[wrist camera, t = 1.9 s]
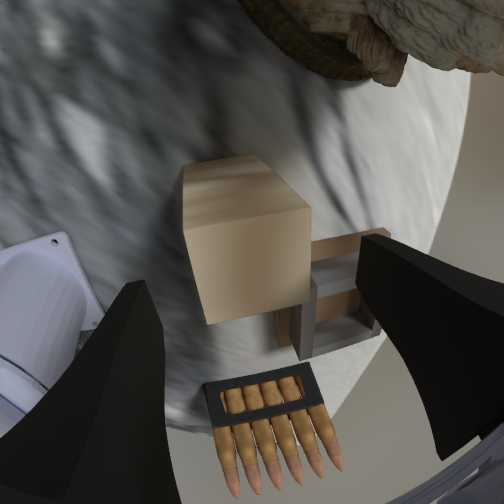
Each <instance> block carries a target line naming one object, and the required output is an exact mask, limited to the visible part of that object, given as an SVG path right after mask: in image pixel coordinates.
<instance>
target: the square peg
mask: <svg viewBox="0 0 504 504" xmlns="http://www.w3.org/2000/svg"><path fill="white" fill-rule="evenodd" d="M183 232H184V237H185V241H186V245H187V249H188V253H189V257H190V261H191V265H192V269H193V273H194V277H195V281H196V285H197V288H198V292H199V296H200V299H201V303H202V307H203V310H204V314H205V317H206V321H207V324H208V325H209V324H214V323H219V322H224V321H229V320H234V319H238V318H243V317H248V316H252V315H257V314H261V313H266V312H270V311H274V310H278V309H283V308H287V307H291V306H295V305H299V304H303V303H307V302H309V296H310V269H311V206H310V205H309V204H308V203H307V202H306V201H305V200H304V199H302V198H301V197H300V196H299V195H298V194H297V193H296V192H295V191H294V190H293V189H292V188H291V187H290V186H289V185H288V184H287V183H286V182H285V181H284V180H283V179H282V178H281V177H279V176H278V175H277V174H276V173H275V172H274V171H273V170H272V169H271V168H270V167H269V166H268V165H266V164H265V163H264V162H263V161H262V160H261V159H260V158H259V157H258V156H257V155H255V154H249V155H242V156H235V157H229V158H222V159H216V160H210V161H205V162H199V163H194V164H189V165H184V166H183Z"/></svg>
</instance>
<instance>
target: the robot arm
mask: <svg viewBox="0 0 504 504" xmlns="http://www.w3.org/2000/svg"><path fill="white" fill-rule="evenodd" d="M53 239H55V240H57V241H58V243H55V242H54V240H53ZM355 284H356V286H357V288H358V290H359V292H360V294H361V296H362V298H363V300H364V302H365V304H366V305H367V307H368V308H369V310H370V311H371V313H372V314H373V316H374V317H375V319H376V320H377V321H378V323H379V324H380V326H381V327H382V329H383V330H384V331H385V333H386V334H387V336H388V337H389V338H390V340H391V341H392V343H393V344H394V346H395V347H396V349H397V350H398V352H399V353H400V355H401V357H402V358H403V360H404V362H405V364H406V366H407V368H408V370H409V372H410V374H411V376H412V378H413V380H414V383H415V385H416V387H417V389H418V392H419V394H420V397H421V399H422V402H423V405H424V407H425V410H426V413H427V416H428V419H429V422H430V426H431V429H432V433H433V437H434V441H435V446H436V451H437V454H438V456H439V457H440V459H441V461H443V460H445V459H446V458H448V457H449V456H451V455H452V454H453V453H455V452H456V451H458V450H459V449H460V448H462V447H463V446H464V445H466V444H467V443H468V442H470V441H471V440H472V439H473V438H475V437H476V436H477V435H479V437H480V439H481V441H480V442H479V443H478V444H477V445H476V446H474V447H473V448H472V449H471V450H469V451H468V452H467V453H466V454H464V455H463V456H462V457H460V458H459V459H458V460H457V461H455V462H454V463H452V464H451V465H449V466H448V467H447V468H445V469H444V470H442V471H441V472H439V473H438V474H436V475H435V476H433V477H432V478H430V479H429V480H427V481H426V482H424V483H422V484H421V485H419V486H417V487H415V488H414V489H412V490H410V491H409V492H407V493H405V494H403V495H401V496H399V497H397V498H396V499H394V500H392V501H390V502H388V503H386V504H429V503H431V502H433V501H434V500H436V499H437V498H439V497H440V496H441V495H443V494H444V493H446V492H447V491H448V492H447V493H446V494H445V495H444V496H442V497H441V498H440V499H439V500H438V501H437V504H504V284H503V283H500V282H496V281H493V280H490V279H487V278H484V277H481V276H478V275H475V274H472V273H469V272H466V271H464V270H461V269H459V268H457V267H454V266H452V265H450V264H447V263H445V262H442V261H440V260H438V259H435V258H433V257H431V256H429V255H427V254H425V253H422V252H420V251H418V250H416V249H414V248H412V247H409V246H407V245H405V244H403V243H400V242H398V241H396V240H393V239H391V238H388V237H386V236H383V235H380V234H377V233H374V234H369V235H365V236H361V243H360V251H359V259H358V266H357V273H356V280H355ZM95 322H97V323H95ZM91 329H95V330H94V332H93V333H92V335H91V336H90V338H89V339H88V340H87V342H86V343H85V345H84V346H83V348H82V349H81V350H80V352H79V353H78V355H77V356H76V357H75V359H74V355H75V350H76V346H77V343H78V339H79V335H80V331H84V330H91ZM73 359H74V360H73ZM164 388H165V346H164V335H163V325H162V323H161V321H160V318H159V316H158V313H157V311H156V309H155V306H154V304H153V301H152V299H151V296H150V294H149V291H148V288H147V286H146V283H145V280H140V281H134V282H129V283H126V284H125V286H124V287H123V288H122V290H121V291H120V293H119V294H118V296H117V297H116V299H115V300H114V302H113V303H112V305H111V306H110V308H109V309H108V311H107V312H106V314H104V312H103V310H102V308H101V306H100V304H99V302H98V300H97V299H96V297H95V295H94V293H93V290H92V288H91V286H90V284H89V282H88V280H87V278H86V276H85V274H84V271H83V269H82V267H81V265H80V262H79V260H78V258H77V256H76V253H75V251H74V248H73V246H72V244H71V241H70V239H69V236H68V235H67V234H66V233H65V232H63V231H61V232H56V233H53V234H50V235H46V236H43V237H39V238H36V239H33V240H30V241H26V242H23V243H20V244H17V245H14V246H11V247H8V248H5V249H2V250H0V504H182V503H181V500H180V496H179V492H178V489H177V485H176V481H175V477H174V472H173V468H172V463H171V457H170V452H169V447H168V441H167V433H166V426H165V411H164ZM478 467H479V470H478V472H477V473H476V474H474V475H473V476H471V477H469V478H467V479H466V480H464V479H465V478H466V477H467V476H469V475H470V474H471V473H472V472H473V471H475V470H476V469H477V468H478ZM462 480H464V481H462ZM461 481H462V482H461ZM460 482H461V483H460ZM458 483H459V484H458ZM457 484H458V485H457ZM454 486H455V487H454Z"/></svg>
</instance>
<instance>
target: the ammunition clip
mask: <svg viewBox="0 0 504 504" xmlns="http://www.w3.org/2000/svg"><path fill="white" fill-rule="evenodd" d="M297 386H298V388H297ZM203 387H204V391H205V396H206V401H207V405H208V410H209V414H210V419H211V424H212V430H213V435H214V440H215V446H216V450H217V455H218V458H219V460H220V463H221V466H222V470H223V472H224V476H225V480H226V483H227V486H228V488H229V490H230V492H231V493H232V495H233V496H234V497H235V498H236V499H238V498H239V494H240V480H239V474H238V470H237V469H238V468H237V462H236V450H235V445H234V441H233V436H232V432H233V435H234V440H235V444H236V448H237V452H238V454H239V456H240V459H241V461H242V464H243V467H244V470H245V473H246V477H247V479H248V482H249V484H250V486H251V487H252V489H253V491H254V492H255V493H256V494H257V495H260V492H261V477H260V471H259V467H258V461H257V453H256V446H255V442H254V438H253V434H254V437H255V441H256V445H257V448H258V450H259V452H260V454H261V456H262V459H263V462H264V464H265V467H266V470H267V472H268V475H269V477H270V479H271V481H272V483H273V484H274V486H275V487H276V488H277V489H278V490H281V489H282V472H281V467H280V464H279V459H278V455H277V448H276V442H275V439H274V436H273V432H274V435H275V438H276V441H277V444H278V446H279V448H280V449H281V451H282V454H283V456H284V459H285V461H286V464H287V466H288V468H289V471H290V473H291V474H292V476H293V478H294V479H295V480H296V481H297V483H298V484H300V485H302V483H303V470H302V465H301V461H300V458H299V454H298V451H297V446H296V439H295V436H294V433H293V430H292V427H291V424H290V422H289V420H291V423H292V425H293V428H294V431H295V434H296V437H297V439H298V441H299V443H300V444H301V446H302V448H303V450H304V453H305V454H306V457H307V459H308V461H309V464H310V466H311V467H312V469H313V470H314V472H315V473H316V474H317V476H319V477H320V478H323V475H324V468H323V462H322V458H321V454H320V452H319V448H318V445H317V442H316V436H315V432H314V429H315V431H316V433H317V435H318V437H319V438H320V440H321V441H322V443H323V446H324V448H325V449H326V452H327V454H328V456H329V458H330V459H331V461H332V463H333V464H334V465H335V466H336V468H337V469H338V470H340V471H343V468H344V463H343V457H342V453H341V449H340V447H339V444H338V441H337V439H336V436H335V431H334V427H333V424H332V422H331V419H330V417H329V415H328V412H327V410H326V408H325V405H324V400H323V397H322V395H321V392H320V389H319V387H318V384H317V381H316V379H315V376H314V374H313V371H312V368H311V366H310V363H309V362H305V363H301V364H297V365H293V366H289V367H285V368H280V369H276V370H272V371H267V372H262V373H258V374H253V375H248V376H243V377H237V378H232V379H226V380H221V381H214V382H208V383H204V384H203ZM278 388H279V389H280V392H281V395H282V397H283V400H284V404H283V401H282V398H281V395H280V392H279V389H278ZM298 389H299V390H298ZM299 391H300V393H299ZM261 393H262V395H261ZM300 394H301V396H302V398H301V396H300ZM243 396H244V398H243ZM262 396H263V398H262ZM225 399H226V402H225ZM263 399H264V402H263ZM244 400H245V402H244ZM264 403H265V405H264ZM226 404H227V407H226ZM245 404H246V406H245ZM265 406H266V408H265ZM246 407H247V411H248V412H247V411H246ZM227 408H228V412H227ZM228 413H229V414H228ZM308 415H309V416H310V419H311V421H312V424H313V426H314V429H313V427H312V424H311V422H310V419H309V416H308ZM270 425H272V428H273V432H272V429H271V426H270ZM251 429H252V430H253V434H252V430H251Z"/></svg>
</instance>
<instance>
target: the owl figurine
mask: <svg viewBox="0 0 504 504" xmlns="http://www.w3.org/2000/svg"><path fill="white" fill-rule="evenodd" d="M239 2H240V3H241V4H242V5H243V8H246V12H247V13H248V14H249V16H250V18H252V19H253V22H254V23H255V24H257V26H258V27H259V28H260V29H261V31H262V32H264V33H265V35H266V36H268V37H267V38H270V39H271V40H272V41H273V42H274V43H275V44H276V45H277V46H278V47H279V48H280V50H282V51H283V52H285V53H286V55H290V56H292V57H293V58H294V59H296V60H297V61H299V62H302V63H303V64H305V65H306V66H307V67H308V69H309V70H312V71H314V72H316V73H317V74H320V75H323V76H325V77H329V78H333V79H339V80H347V81H348V80H349V81H353V80H355V81H358V80H364V79H369V78H372V77H373V80H374V82H377V83H380V84H382V85H384V86H387V87H396V86H397V84H398V82H400V79H401V77H402V74H403V71H404V65H405V63H406V62H407V58H408V54H410V55H411V56H412V57H414V58H416V59H418V60H420V61H422V62H424V63H426V64H428V65H429V66H430V67H432V68H436V69H440V70H443V71H450V70H453V69H455V68H457V69H460V70H465V71H466V72H473V73H475V74H476V73H489V72H490V71H494V72H496V73H497V74H499V75H501V76H504V0H239Z"/></svg>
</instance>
